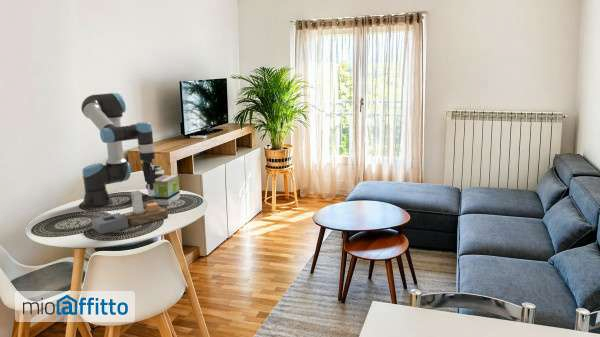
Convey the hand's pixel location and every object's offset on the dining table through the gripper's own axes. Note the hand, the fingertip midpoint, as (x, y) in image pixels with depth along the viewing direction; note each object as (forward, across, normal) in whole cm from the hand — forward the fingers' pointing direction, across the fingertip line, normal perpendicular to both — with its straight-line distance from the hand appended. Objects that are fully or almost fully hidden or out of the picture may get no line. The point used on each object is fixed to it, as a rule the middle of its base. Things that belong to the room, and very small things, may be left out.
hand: (151, 195), depth 256 cm
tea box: (+13, -23, +18) cm, 32 cm away
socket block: (+12, 0, -4) cm, 13 cm away
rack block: (+12, 0, -23) cm, 26 cm away
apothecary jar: (+12, -43, +20) cm, 49 cm away
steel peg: (+12, 0, -8) cm, 15 cm away
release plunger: (+10, 0, 0) cm, 10 cm away
